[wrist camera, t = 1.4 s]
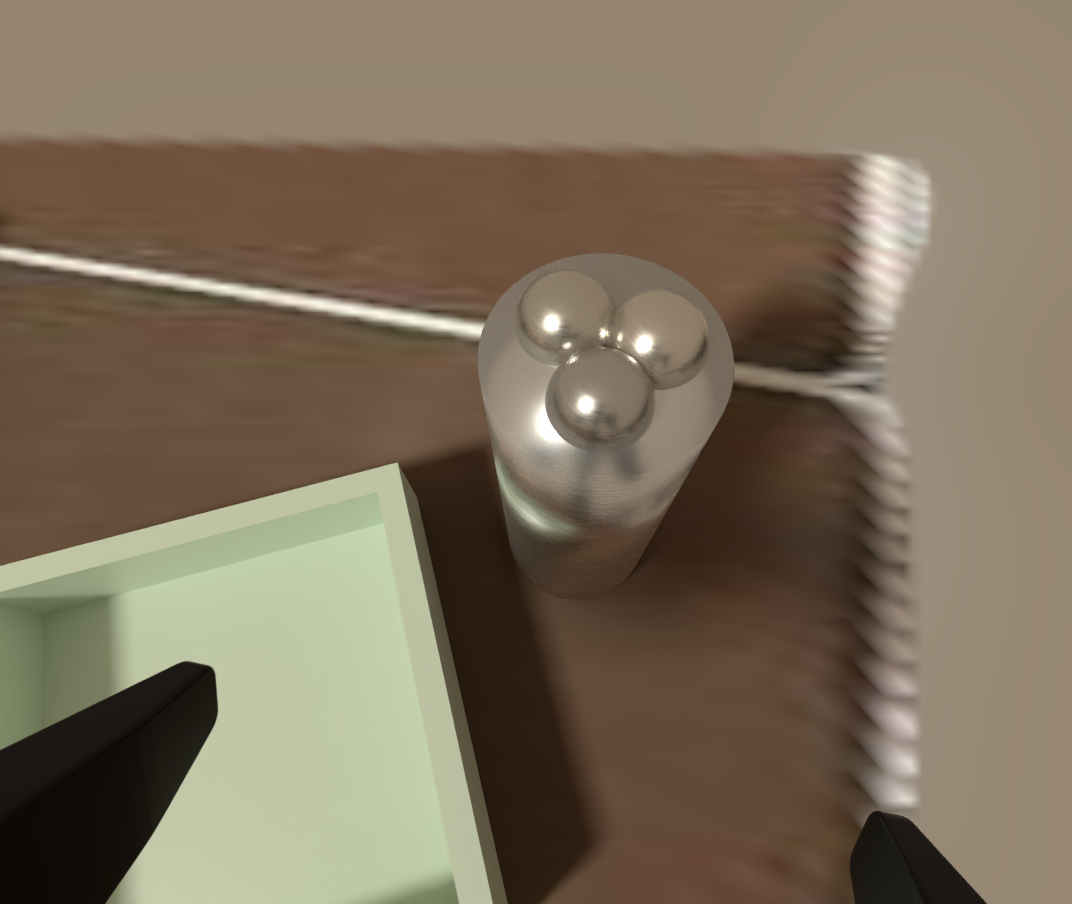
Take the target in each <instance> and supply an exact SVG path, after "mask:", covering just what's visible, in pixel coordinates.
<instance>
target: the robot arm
mask: <svg viewBox="0 0 1072 904" xmlns="http://www.w3.org/2000/svg"><path fill="white" fill-rule="evenodd" d="M217 716H218V698H217V685H216V674H215V671H214V669H213V668H212V667H211V666H209V665H205V664H200V663H196V662H191V661H183V662H180V663H177V664H175V665H173V666H171V667H169V668H167V669H165V670H163V671H161V672H159V673H157V674H155V675H153V676H151V677H149V678H147V679H145V680H142V681H140V682H138V683H136V684H134V685H132V686H130V687H128V688H126V689H124V690H122V691H120V692H118V693H116V694H114V695H112V696H110V697H108V698H106V699H103V700H101V701H99V702H97V703H95V704H93V705H91V706H89V707H87V708H85V709H83V710H81V711H79V712H77V713H75V714H73V715H71V716H69V717H67V718H64V719H62V720H60V721H58V722H56V723H54V724H52V725H50V726H48V727H46V728H44V729H42V730H40V731H38V732H36V733H34V734H32V735H30V736H28V737H25V738H23V739H21V740H19V741H17V742H15V743H13V744H11V745H9V746H7V747H5V748H3V749H1V750H0V904H106V902H107V901H108V900H109V898H110V897H111V895H112V894H113V892H114V891H115V889H116V888H117V886H118V885H119V884H120V882H121V881H122V879H123V878H124V876H125V875H126V873H127V872H128V871H129V869H130V868H131V866H132V865H133V863H134V862H135V860H136V859H137V858H138V856H139V855H140V853H141V852H142V850H143V849H144V847H145V846H146V844H147V843H148V841H149V840H150V838H151V837H152V835H153V833H154V832H155V830H156V828H157V827H158V825H159V823H160V822H161V820H162V818H163V817H164V815H165V813H166V811H167V810H168V808H169V806H170V804H171V802H172V801H173V799H174V797H175V795H176V794H177V792H178V790H179V788H180V786H181V785H182V783H183V781H184V779H185V777H186V776H187V774H188V772H189V770H190V769H191V767H192V765H193V763H194V761H195V760H196V758H197V756H198V754H199V753H200V751H201V749H202V747H203V745H204V744H205V742H206V740H207V738H208V737H209V735H210V733H211V731H212V729H213V727H214V725H215V723H216V720H217ZM850 872H851V879H852V886H853V893H854V899H855V904H987V903H986V902H985V901H984V900H983V899H982V898H981V897H980V896H979V894H978V893H977V892H975V890H974V889H973V888H972V887H971V886H970V885H969V883H967V881H966V880H965V879H964V878H963V877H962V876H961V875H960V874H959V873H958V871H957V870H956V869H955V868H954V867H953V866H952V865H951V864H950V863H949V862H948V860H947V859H946V858H945V857H944V856H943V855H942V854H941V853H940V852H939V851H938V850H937V848H936V847H935V846H934V845H933V844H932V843H931V842H930V841H929V840H928V839H927V837H925V835H924V834H923V833H922V832H921V831H920V830H919V829H918V828H917V826H916V825H915V824H914V823H913V822H912V821H910V820H909V819H908V818H906V817H904V816H900V815H895V814H891V813H886V812H881V811H874V812H872V813H871V814H870V815H869V817H868V818H867V821H866V823H865V825H864V827H863V829H862V831H861V833H860V836H859V838H858V840H857V842H856V844H855V846H854V848H853V851H852V854H851V859H850Z"/></svg>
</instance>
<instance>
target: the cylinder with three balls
mask: <svg viewBox="0 0 1072 904" xmlns="http://www.w3.org/2000/svg"><path fill="white" fill-rule="evenodd" d="M478 374H479V379H480V384H481V390H482V395H483V401H484V406H485V412H486V417H487V423H488V428H489V433H490V439H491V444H492V450H493V455H494V461H495V466H496V472H497V477H498V482H499V488H500V493H501V499H502V504H503V510H504V515H505V520H506V526H507V531H508V537H509V542H510V547H511V551H512V554H513V557H514V559H515V561H516V563H517V565H518V567H519V568H520V570H521V571H522V573H523V574H524V575H525V576H526V577H527V578H528V580H529V581H531V582H532V583H533V584H534V585H535V586H537V587H538V588H540V589H541V590H543V591H545V592H547V593H549V594H551V595H554V596H557V597H560V598H565V599H574V600H581V599H590V598H595V597H598V596H601V595H604V594H606V593H608V592H610V591H612V590H613V589H615V588H616V587H618V586H619V585H620V584H621V583H623V582H624V581H625V580H626V579H627V578H628V576H629V575H630V574H631V573H632V571H633V570H634V568H635V566H636V564H637V563H638V561H639V559H640V558H641V556H642V554H643V552H644V551H645V549H646V547H647V545H648V544H649V542H650V540H651V538H652V537H653V535H654V533H655V531H656V530H657V528H658V526H659V524H660V523H661V521H662V519H663V517H664V516H665V514H666V512H667V510H668V509H669V507H670V505H671V503H672V502H673V500H674V498H675V496H676V495H677V493H678V491H679V489H680V488H681V486H682V484H683V482H684V481H685V479H686V477H687V475H688V474H689V472H690V470H691V468H692V467H693V465H694V463H695V461H696V460H697V458H698V456H699V454H700V453H701V451H702V449H703V447H704V446H705V444H706V442H707V440H708V439H709V437H710V435H711V433H712V432H713V430H714V428H715V426H716V425H717V423H718V421H719V419H720V418H721V416H722V414H723V412H724V410H725V408H726V405H727V403H728V400H729V398H730V394H731V390H732V386H733V378H734V359H733V351H732V347H731V342H730V339H729V336H728V333H727V331H726V328H725V326H724V324H723V322H722V320H721V318H720V317H719V315H718V313H717V312H716V310H715V309H714V308H713V306H712V305H711V304H710V302H709V301H708V300H707V299H706V298H705V297H704V296H703V295H702V294H701V293H700V291H699V290H697V289H696V288H695V287H694V286H693V285H691V284H690V283H689V282H688V281H686V280H685V279H683V278H682V277H680V276H679V275H677V274H676V273H674V272H672V271H670V270H668V269H666V268H664V267H662V266H660V265H658V264H655V263H652V262H649V261H647V260H643V259H639V258H635V257H631V256H625V255H618V254H601V253H598V254H584V255H578V256H572V257H567V258H564V259H560V260H557V261H554V262H551V263H549V264H547V265H544V266H542V267H539V268H538V269H536V270H534V271H532V272H531V273H529V274H527V275H526V276H524V277H523V278H522V279H520V280H519V281H518V282H516V283H515V284H514V285H513V286H512V287H511V288H510V289H509V290H508V291H506V292H505V293H504V295H503V296H502V297H501V298H500V300H499V301H498V302H497V303H496V305H495V306H494V308H493V310H492V311H491V313H490V315H489V316H488V318H487V321H486V323H485V325H484V328H483V330H482V334H481V338H480V342H479V349H478Z"/></svg>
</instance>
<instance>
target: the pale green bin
mask: <svg viewBox="0 0 1072 904" xmlns="http://www.w3.org/2000/svg"><path fill="white" fill-rule="evenodd" d="M183 661H191V662H196V663H200V664H205V665H209V666H211V667H212V668H213V669H214V671H215V674H216V685H217V698H218V716H217V720H216V723H215V725H214V727H213V729H212V731H211V733H210V735H209V737H208V738H207V740H206V742H205V744H204V745H203V747H202V749H201V751H200V753H199V754H198V756H197V758H196V760H195V761H194V763H193V765H192V767H191V769H190V770H189V772H188V774H187V776H186V777H185V779H184V781H183V783H182V785H181V786H180V788H179V790H178V792H177V794H176V795H175V797H174V799H173V801H172V802H171V804H170V806H169V808H168V810H167V811H166V813H165V815H164V817H163V818H162V820H161V822H160V823H159V825H158V827H157V828H156V830H155V832H154V833H153V835H152V837H151V838H150V840H149V841H148V843H147V844H146V846H145V847H144V849H143V850H142V852H141V853H140V855H139V856H138V858H137V859H136V860H135V862H134V863H133V865H132V866H131V868H130V869H129V871H128V872H127V873H126V875H125V876H124V878H123V879H122V881H121V882H120V884H119V885H118V886H117V888H116V889H115V891H114V892H113V894H112V895H111V897H110V898H109V900H108V901H107V902H106V904H508V902H507V898H506V893H505V889H504V884H503V880H502V875H501V871H500V866H499V862H498V857H497V853H496V848H495V844H494V840H493V835H492V831H491V826H490V822H489V817H488V813H487V808H486V804H485V799H484V795H483V790H482V786H481V781H480V777H479V772H478V768H477V763H476V759H475V754H474V750H473V746H472V741H471V737H470V732H469V728H468V723H467V719H466V714H465V710H464V705H463V701H462V696H461V692H460V687H459V683H458V678H457V674H456V669H455V665H454V660H453V656H452V652H451V647H450V643H449V638H448V634H447V629H446V625H445V620H444V616H443V611H442V607H441V602H440V598H439V593H438V589H437V584H436V580H435V575H434V571H433V566H432V562H431V558H430V553H429V549H428V544H427V540H426V535H425V531H424V526H423V522H422V517H421V513H420V508H419V504H418V499H417V497H416V495H415V493H414V491H413V490H412V488H411V486H410V484H409V482H408V481H407V479H406V477H405V475H404V473H403V471H402V470H401V468H400V466H399V464H398V463H394V464H390V465H386V466H382V467H378V468H375V469H371V470H367V471H363V472H359V473H355V474H352V475H348V476H344V477H340V478H336V479H332V480H329V481H325V482H321V483H317V484H313V485H309V486H306V487H302V488H298V489H294V490H290V491H286V492H283V493H279V494H275V495H271V496H267V497H263V498H260V499H256V500H252V501H248V502H244V503H240V504H237V505H233V506H229V507H225V508H221V509H217V510H214V511H210V512H206V513H202V514H198V515H194V516H191V517H187V518H183V519H179V520H175V521H171V522H168V523H164V524H160V525H156V526H152V527H148V528H145V529H141V530H137V531H133V532H129V533H125V534H122V535H118V536H114V537H110V538H106V539H102V540H99V541H95V542H91V543H87V544H83V545H79V546H76V547H72V548H68V549H64V550H60V551H56V552H53V553H49V554H45V555H41V556H37V557H33V558H30V559H26V560H22V561H18V562H14V563H10V564H7V565H3V566H0V750H1V749H3V748H5V747H7V746H9V745H11V744H13V743H15V742H17V741H19V740H21V739H23V738H25V737H28V736H30V735H32V734H34V733H36V732H38V731H40V730H42V729H44V728H46V727H48V726H50V725H52V724H54V723H56V722H58V721H60V720H62V719H64V718H67V717H69V716H71V715H73V714H75V713H77V712H79V711H81V710H83V709H85V708H87V707H89V706H91V705H93V704H95V703H97V702H99V701H101V700H103V699H106V698H108V697H110V696H112V695H114V694H116V693H118V692H120V691H122V690H124V689H126V688H128V687H130V686H132V685H134V684H136V683H138V682H140V681H142V680H145V679H147V678H149V677H151V676H153V675H155V674H157V673H159V672H161V671H163V670H165V669H167V668H169V667H171V666H173V665H175V664H177V663H180V662H183Z"/></svg>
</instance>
